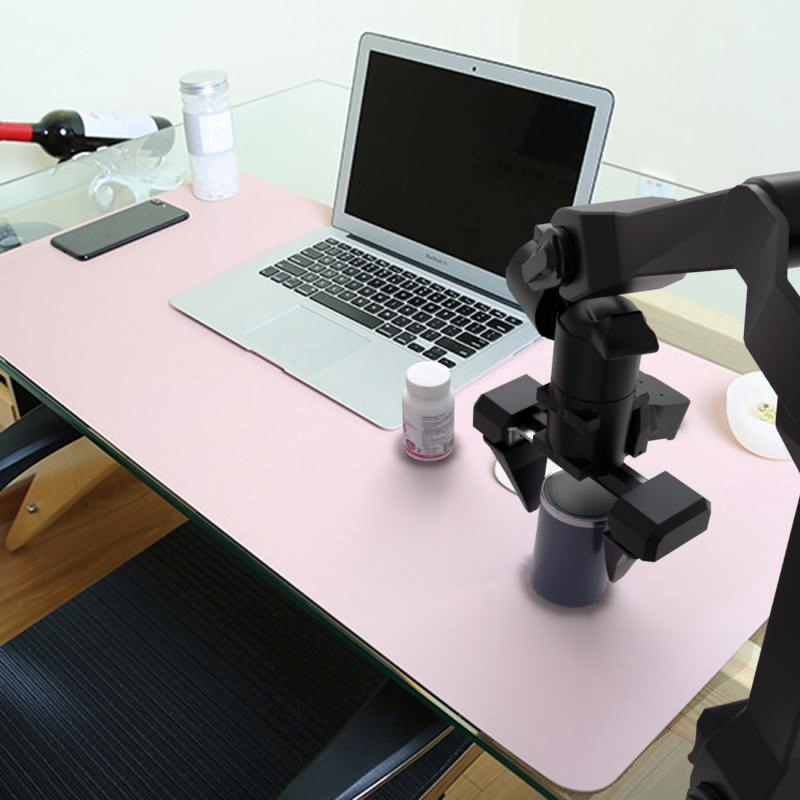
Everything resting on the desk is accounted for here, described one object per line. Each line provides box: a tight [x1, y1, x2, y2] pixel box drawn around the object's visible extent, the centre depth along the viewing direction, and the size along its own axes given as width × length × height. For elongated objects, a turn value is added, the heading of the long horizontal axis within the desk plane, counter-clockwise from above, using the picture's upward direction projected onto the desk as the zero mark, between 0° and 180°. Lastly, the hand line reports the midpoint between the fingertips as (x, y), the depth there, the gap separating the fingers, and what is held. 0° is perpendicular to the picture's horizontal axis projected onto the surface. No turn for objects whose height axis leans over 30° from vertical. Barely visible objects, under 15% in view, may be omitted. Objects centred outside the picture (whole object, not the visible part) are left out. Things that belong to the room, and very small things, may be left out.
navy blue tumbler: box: [529, 468, 618, 608], centre depth 73 cm, size 6×6×9 cm
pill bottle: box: [401, 360, 456, 462], centre depth 87 cm, size 5×5×8 cm
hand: (572, 543), depth 73 cm, fingers open, 9 cm apart
